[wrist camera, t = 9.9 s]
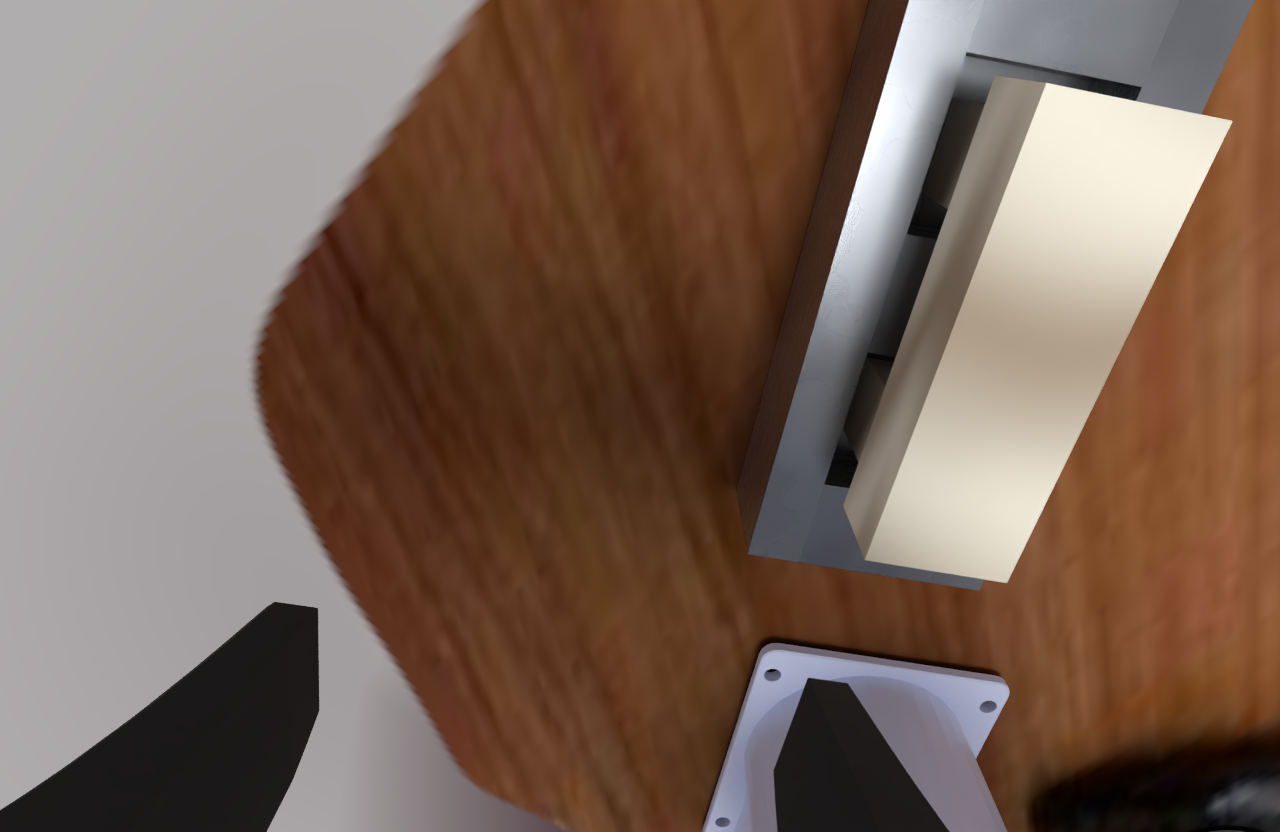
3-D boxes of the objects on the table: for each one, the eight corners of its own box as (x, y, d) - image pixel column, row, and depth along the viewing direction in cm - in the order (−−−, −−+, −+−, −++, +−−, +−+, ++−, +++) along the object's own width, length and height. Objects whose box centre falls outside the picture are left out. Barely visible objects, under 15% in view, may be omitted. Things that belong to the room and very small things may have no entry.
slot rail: (940, 523, 22) (979, 590, 20) (736, 490, 22) (747, 554, 19) (1171, -29, 16) (1273, -41, 14) (893, -88, 16) (941, -111, 13)
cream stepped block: (929, 461, 20) (1006, 582, 16) (818, 442, 20) (865, 560, 16) (1075, 95, 16) (1232, 120, 12) (939, 67, 16) (1046, 82, 12)
